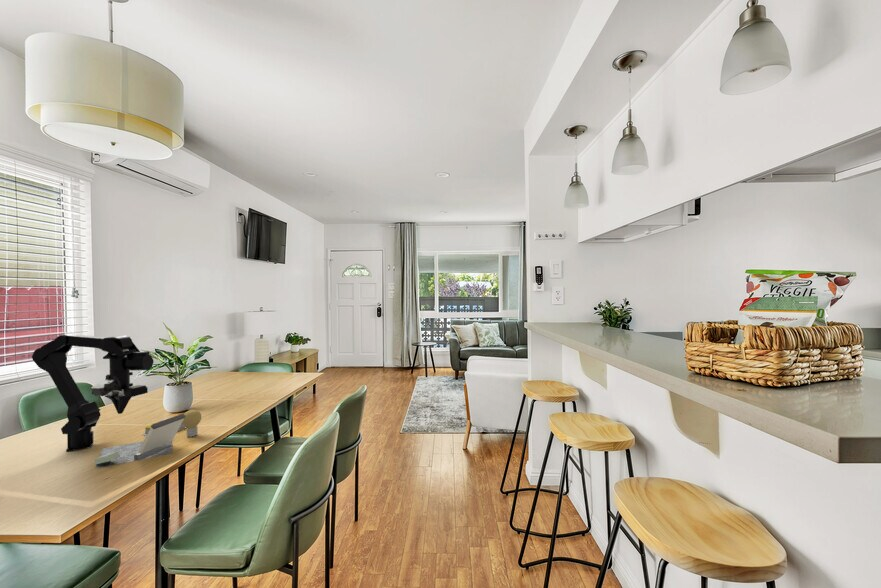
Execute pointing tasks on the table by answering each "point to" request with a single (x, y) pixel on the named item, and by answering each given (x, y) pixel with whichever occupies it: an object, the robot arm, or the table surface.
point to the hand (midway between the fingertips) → (120, 413)
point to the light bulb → (192, 422)
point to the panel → (133, 453)
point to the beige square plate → (161, 433)
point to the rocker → (107, 457)
